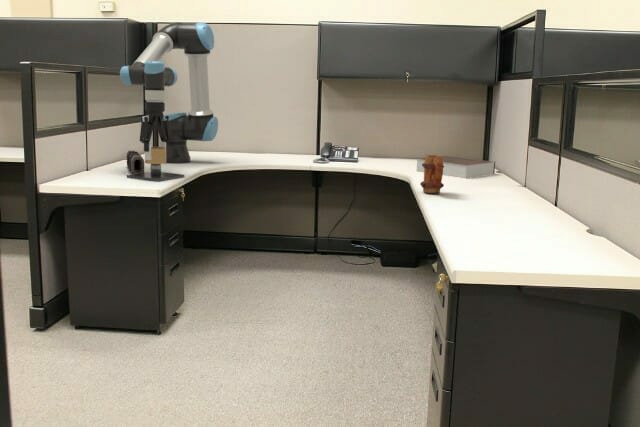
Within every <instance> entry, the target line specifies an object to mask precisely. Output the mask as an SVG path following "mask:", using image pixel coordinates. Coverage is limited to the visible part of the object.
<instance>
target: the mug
mask: <svg viewBox="0 0 640 427" xmlns="http://www.w3.org/2000/svg"><path fill="white" fill-rule="evenodd" d="M442 156H443V155H435V154H431V155H428V154H427V155H425V156H424V158H425V162H424V163H423V164H422V166H423V168H424V172H423V181H421V182H420V186H421V187H422V192H423V193H424V194H440V193H441V189H442V188H443V187H444V186H445V185H444V183H443V182H442V181H443V177H444V175H443V168H444V165H443V158H442Z"/></svg>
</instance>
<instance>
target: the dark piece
mask: <svg viewBox="0 0 640 427" xmlns="http://www.w3.org/2000/svg"><path fill="white" fill-rule="evenodd" d="M185 175H186V174H183V173H173V172H166V171H162V164H150V171H147V172H145V171H144V173H139V174H133V173H132V174H127V175H126V178H127V179H135V180H142V181H148V182H149V181H150V182H157V183H159V182H165V181H171V180H175V179H181V178H185V177H186V176H185Z"/></svg>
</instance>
